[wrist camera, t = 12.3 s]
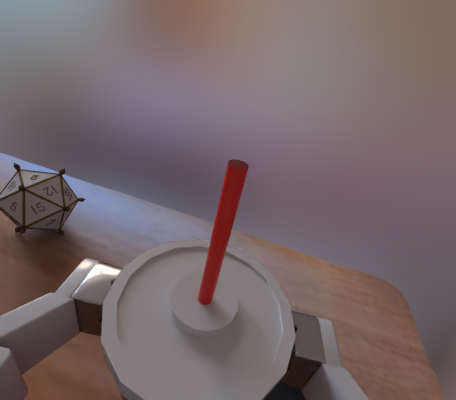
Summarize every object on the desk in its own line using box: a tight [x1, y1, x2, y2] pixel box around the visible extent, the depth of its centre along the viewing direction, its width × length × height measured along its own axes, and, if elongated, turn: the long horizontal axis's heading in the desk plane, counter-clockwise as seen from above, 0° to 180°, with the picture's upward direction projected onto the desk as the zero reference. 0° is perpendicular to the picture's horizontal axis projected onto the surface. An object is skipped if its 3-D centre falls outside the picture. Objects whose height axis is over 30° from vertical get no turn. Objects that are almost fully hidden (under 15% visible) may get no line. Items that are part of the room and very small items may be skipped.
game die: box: [0, 163, 86, 236], centre depth 31 cm, size 9×8×10 cm
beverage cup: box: [101, 160, 296, 400], centre depth 10 cm, size 6×6×14 cm
